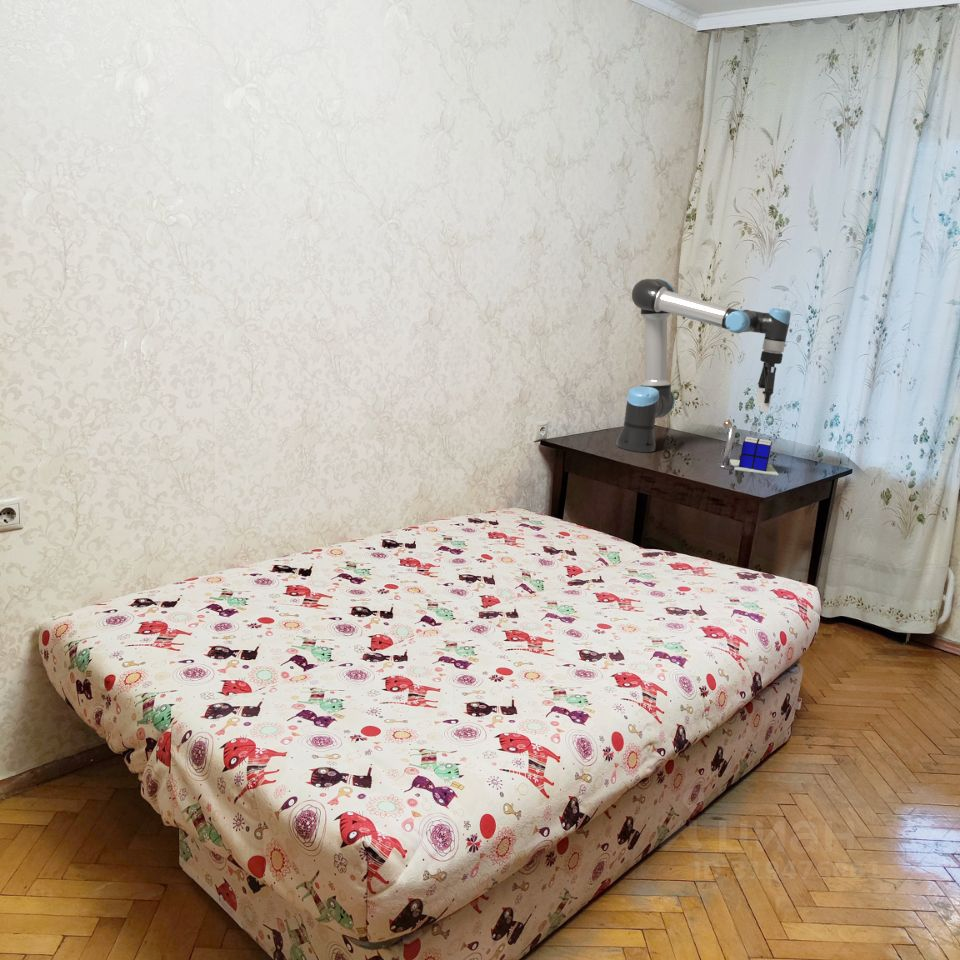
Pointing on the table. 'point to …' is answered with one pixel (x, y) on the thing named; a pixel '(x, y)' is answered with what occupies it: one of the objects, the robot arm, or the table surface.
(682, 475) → the table surface
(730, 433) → the hook post
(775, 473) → the sage mat
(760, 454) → the puzzle cube
